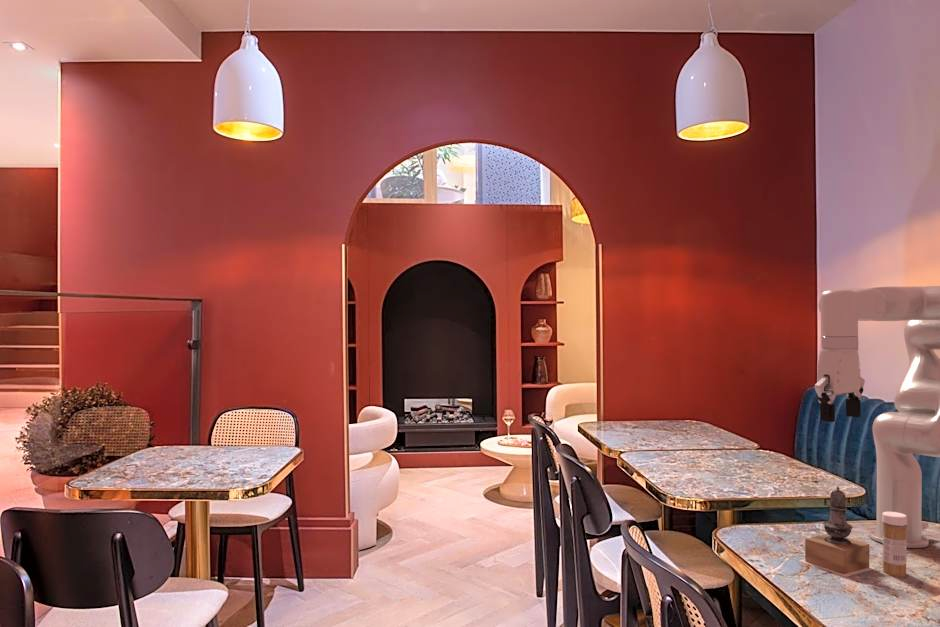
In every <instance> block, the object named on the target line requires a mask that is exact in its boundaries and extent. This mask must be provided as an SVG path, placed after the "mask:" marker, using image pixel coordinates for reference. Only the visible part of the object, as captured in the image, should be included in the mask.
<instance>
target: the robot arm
mask: <svg viewBox="0 0 940 627" xmlns="http://www.w3.org/2000/svg"><path fill="white" fill-rule="evenodd" d="M818 309H819V312H820V341H821V342H820V347H821V348H820V351H819V355H818V361H817V362H818V363H817V371H816V372H817V376H816V378H817V379H816V383H815V384H814V390H815V393H816V397H817V399H818V403H819V409H820V411H819V414H820V415H819V416H820V421H823V422H830V423H835V421H836V405H835V403H834V402H835V400H836V397H837V396H841V395H846V397H847V398H845V415H846V416H847V417H853V418H861V416H862V410H861V409H862V408H861V407H862V406H861V404H862V403H861V401H862V399H863V395H862V394H863V392H864V386H865V383H866V380H865V379H864V378H863V377H862V376H861V364H860V357H859V322H860V321H861V322H867V321H868V322H871V321H873V322H900V321H901V322H905V321H907V322H906V323H905V325H904V328H903V329H904V330H903V338H904V343H905V348H906V351H907V355H908V361H909V363H908V367H907V370H906V372H905V374H904V376H903V379H902V380H901V382H900V384H899V386H898V389H897V390H896V393H895V395H894V401H893V403H894V404H893V405H894V408H895V409H896V410H897V411H887V412H883V413H881V414H879V415H877V416H876V417H875V418H874V421H873V424H872V436H873V437H872V438H873V442H874V446H875V454H876V455H875V456H876V526H875V528H872V529H871V530H869V533H868V535H869V538H870V539H872V540H873V541H875V542H878V543H880V544H883V521H882V513H883V512H898V513H902V514H905V515H906V516H907V527H906V548H907V549H922V548H923V549H924V548H927V547H928V546H929V543H930V542H929V539H928V538H927V537H926V536H924V535H922V531H924V530H927V529H929V527H930V525H929V523H928V522H927V521H925V520H923V521H922V505H923V504H922V499H923V496H922V494H923V492H922V488H923V487H922V486H923V485H922V484H923V481H922V479H923V478H922V477H923V475H922V474H923V473H922V469H921V466H920V463H919V462H918V461H917V459H916V457H915V455H920V456H926V457H927V456H928V457H935V458H940V357H939V356H938V355H937V353H936V352H935V351H934V350H936V351H937V350H938V351H939V350H940V285H936V286H935V285H932V286H930V285H929V286H928V285H927V286H924V285H923V286H878V287H877V286H876V287H867V288H837V289H836V288H835V289H834V288H832V289H828V290H825V291H822V293H821V294H820V297H819V301H818Z"/></svg>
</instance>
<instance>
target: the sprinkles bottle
mask: <svg viewBox="0 0 940 627" xmlns="http://www.w3.org/2000/svg"><path fill="white" fill-rule="evenodd" d="M882 521H883V543H882V572H883V573H884V574H886V575H888V576H891V577H897V578H899V577H900V578H901V577H902V578H903V577H906V576H907V549H908V548H906V527H907V516H906V515H905V514H902V513H898V512H883V513H882Z"/></svg>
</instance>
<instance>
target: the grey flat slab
mask: <svg viewBox="0 0 940 627" xmlns="http://www.w3.org/2000/svg"><path fill="white" fill-rule="evenodd" d="M798 562H801V563H804V564H805V565H810V566H813V567H816V568H818V569H821V570H824V571H827V572H830V573H833V574H836V575H838V576H841V577H844V578H846V577H849V576H854V575H858V574H861V573H865V572H868V571H872V570H876V569H877V567H875V566H871V565H869V568H865V569H861V570H858V571H854V572H850V573H847V574H841V573H838V572H835V571H832V570H830V569H827V568H824V567H821V566H818V565H815V564H812V563H809V562H806V561H805V558H803V559H799V560H798Z"/></svg>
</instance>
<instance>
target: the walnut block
mask: <svg viewBox="0 0 940 627" xmlns="http://www.w3.org/2000/svg"><path fill="white" fill-rule="evenodd" d="M828 536H830V535H829V534H828V533H825V534H820V535H815V536H812V537H811V536H810V537H807V538H805V539H804V540H805V541H804V542H805V543H804V544H805V545H804V546H805V547H804V549H805V550H804V559H805V561H806V562H809V563H812V564H815V565H818V566H821V567H824V568H827V569H830V570H832V571H835V572H838V573H841V574H847V573H850V572H854V571H858V570H861V569H865V568H869V566H870V543H866V542H863V541H859V540H856V539H853V538H851V537H845V538H846V539H848V540H849V541H851V544H850V545H837V544H832V543H829V542H826V541H825V540H824V538H826V537H828Z"/></svg>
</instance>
